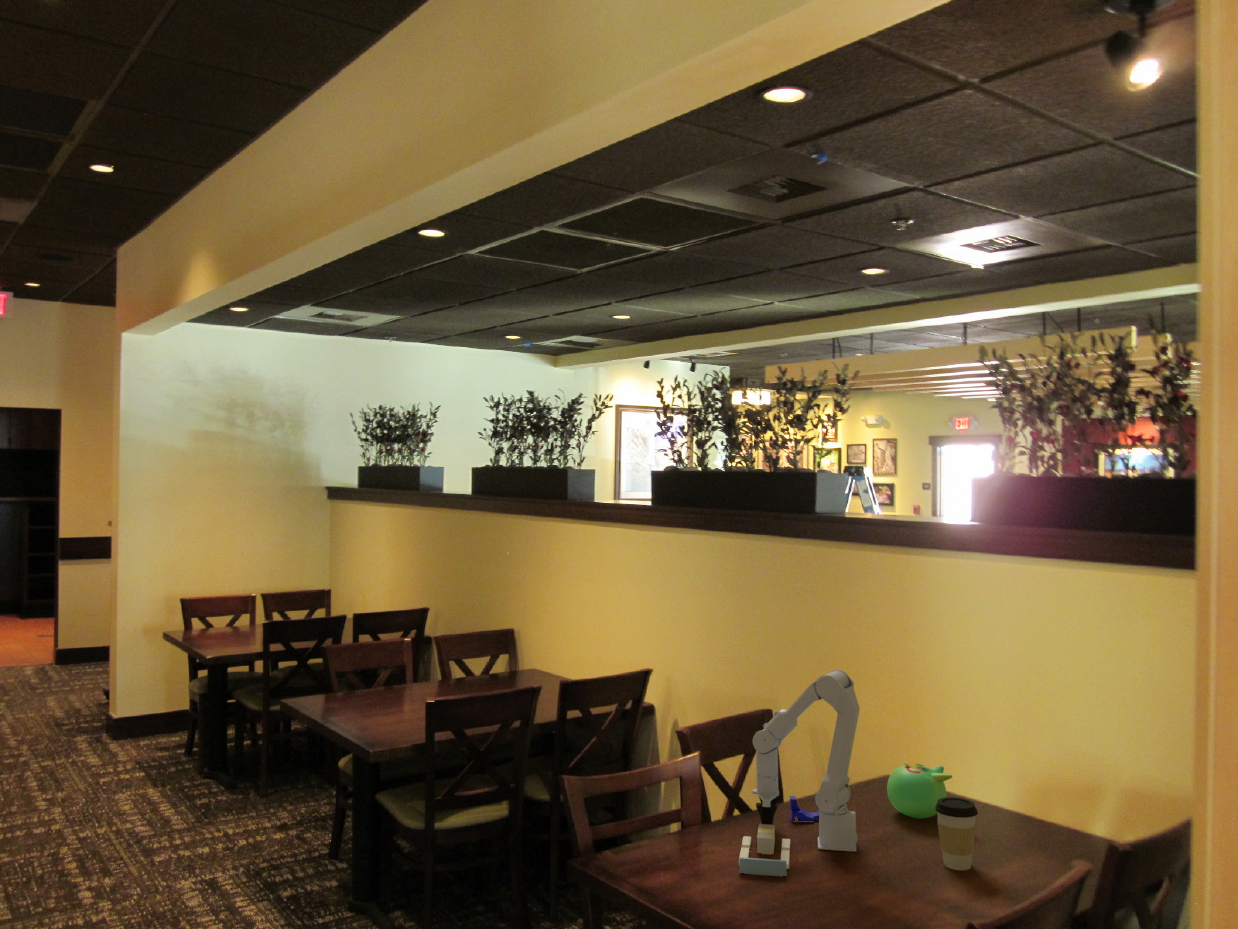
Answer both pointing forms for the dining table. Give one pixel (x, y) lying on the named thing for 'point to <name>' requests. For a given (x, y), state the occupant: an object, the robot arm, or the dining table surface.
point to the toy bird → (917, 789)
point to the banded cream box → (766, 839)
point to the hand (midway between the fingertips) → (767, 825)
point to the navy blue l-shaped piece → (801, 812)
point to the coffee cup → (956, 831)
